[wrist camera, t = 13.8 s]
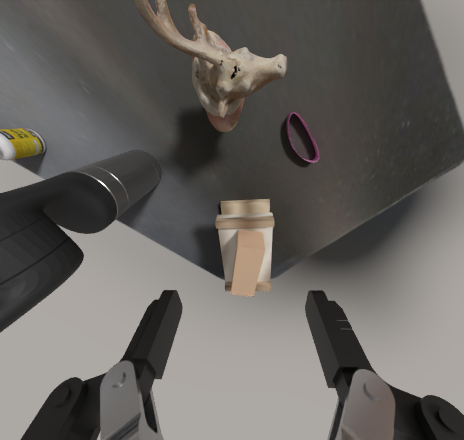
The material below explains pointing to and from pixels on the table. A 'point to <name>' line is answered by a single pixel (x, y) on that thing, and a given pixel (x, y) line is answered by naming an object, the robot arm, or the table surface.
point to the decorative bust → (215, 65)
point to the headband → (309, 135)
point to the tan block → (247, 262)
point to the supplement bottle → (20, 143)
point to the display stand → (250, 219)
